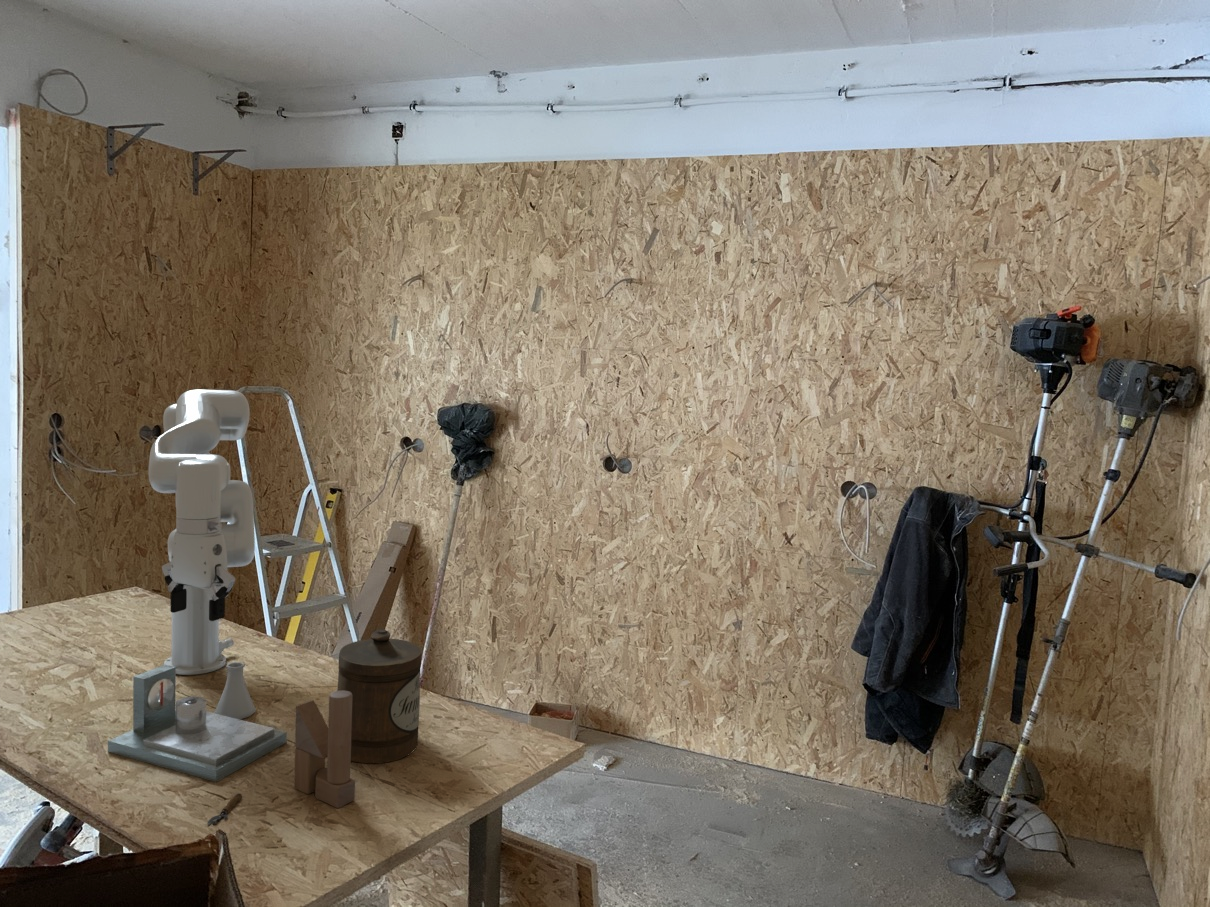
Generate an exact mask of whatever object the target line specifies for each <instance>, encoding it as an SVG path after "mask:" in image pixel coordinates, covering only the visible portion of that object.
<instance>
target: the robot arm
mask: <svg viewBox="0 0 1210 907" xmlns="http://www.w3.org/2000/svg"><path fill="white" fill-rule="evenodd" d="M250 414H251V413H250V405H249V401H248V399H247V397H246V396H245V395H244V394H243V393H242V392H240V391H237V390H230V389H229V390H228V389H205V388H204V389H203V388H202V389H201V388H200V389H191V390H188V391H187V390H186V391H185V392H183V393H182V394H180V395H179V397H178V399H177V400H176V403H174V404H171V405H168V406H167V407H166V408H165V409H164V413H163V418H162V423H163V432H164V433H162V434H161V435H159V436H158V437H157V438H156V440H154V442H153V443H152V446H151V448H150V452H149V459H148V461H149V462H148V480H149V484H150V486H151V488H152V489H153V490H154V491H155V492H158V493H161V494H175V510H176V512H175V513H176V516H175V518H176V520H175V523H176V524H175V529H173V530H172V531H171V532H170V533H169V535H168V537H167V553H168V561H169V562H167V563H165V564H163V565H162V566H161V571H162V574H163V576H164V581H165V583H166V585H167V590H168V592H170V605H169V610H170V613H171V656H170V657H168V658H166V659H165V660H164V662H163V665H169V666H173V667H176V675H178V676H179V675H183V676H192V675H193V676H195V675H201V674H207V673H211V672H215V671H218V670H219V669H221V668H223V667H224V666H226V663H227V657H226V656H225V655H224V654H222V653H223V651H224V650H225V649H228V648H230V647H233V646H234V644H235V642H234V639H233V638H230V637H229V638H227V639H224V640H220V638H219V637H220V636H219V635H220V634H219V633H220V632H219V631H220V627H219V626H220V620H221V619H224V618H225V616H226V612H225V611H226V598H228V597H229V594H230V593H231V592H232V590H233V586H234V585H235V582H236V577H235V576H234V575H233V574H231V572H230V571H228V568H234V567H235V568H236V567H237V568H238V567H246V566H248V565H249V564H251V563H252V561H253V559H254V557H255V549H256V542H255V541H256V540H255V516H254V515H255V514H254V499H253V498H254V497H253V492H252V489H251V487H250V485H249V483H247V482H245V481H243V480H238V479H237V480H236V479H231V476H232V475H231V473H232V472H231V471H232V470H231V465H230V463H229V462H228V460H227V459H226V458H225V457H223V455H219V454H211V453H210V451H212V450H214V449H215V447H217V445H218V444H219V443H220V441H238V440H242V439H243V438H244V437H245V435H246V433H247V430H248V427H249V426H248V425H249V424H250V423H249V422H250ZM225 523H226V524H225ZM163 665H162V666H163Z"/></svg>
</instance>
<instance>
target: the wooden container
mask: <svg viewBox="0 0 1210 907" xmlns="http://www.w3.org/2000/svg"><path fill="white" fill-rule="evenodd" d="M370 636H371V638H367V639H361V640H356V641H353V642H350V643H347V644H345V645H344V646H343V647H342V648H340V650H339V654H338V674H337V675H338V677H337V690H336V691H341V690H344V691H349V692H351V693H352V695H353V697H352V731H351V762H353V763H354V762H355V763H358V764H359V763H361V764H385V763H389V762H390V761H391V762H395V761H398V760H401V759H403V757H404V758H406V757H407V755H408V754H409V755H411V754H412V753H413V752H414V751H415V750H416V749H417V747H418V744H417V743H419V742H418V740H419V724H420V703H421V702H420V701H421V699H420V697H421V696H420V695H421V669H422V668H421V666H422V649H421V647H420V646H419V645H417V644H416V643H414V642H411V641H408V640H404V639H398V638H391V633H390V631H388V630H387V629H384V628H378V629H377V630H375V631H373V632H372V633H371V635H370ZM416 746H417V747H416ZM415 748H416V749H415ZM414 749H415V750H414ZM413 750H414V751H413ZM412 751H413V752H412ZM411 752H412V753H411ZM410 753H411V754H410ZM409 755H408V756H409ZM405 756H406V757H405ZM384 762H385V763H384Z"/></svg>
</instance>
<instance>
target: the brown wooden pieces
mask: <svg viewBox="0 0 1210 907" xmlns="http://www.w3.org/2000/svg"><path fill="white" fill-rule="evenodd" d="M352 697H353V695H352V693H351V692H349V691H344V690H341V691H337V690H335V691H333V692H331V693H330V694H329V696H328V723H327V722H326V720H325V719H324V717H323V715H322V714H321V711H320V710H319V707H318V705H317V703H316V702H315V700H314V699H312V700H310V701H307V702H304V703H300V704H298V705H296V706H295V724H294V725H295V730H294V731H295V733H294V735H295V736H294V740H295V741H294V746H295V749H294V777H293V778H294V782H293V783H294V785H293V787H294V789H295V790H297V791H299V792H302V793H304V794H305V795H309V794H312V793H314V794H315V799H317V800H319V801H321V802H323V803H326V804H328V805H330V806H332V807H334V808H337V809H340V808H342V807H344V806H346V805H348V804H349V803H352V802H353V801H355V794H356V780H355V779H353V778H351V762H352V761H351V731H352ZM327 724H328V725H327ZM326 760H327V765H326Z"/></svg>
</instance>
